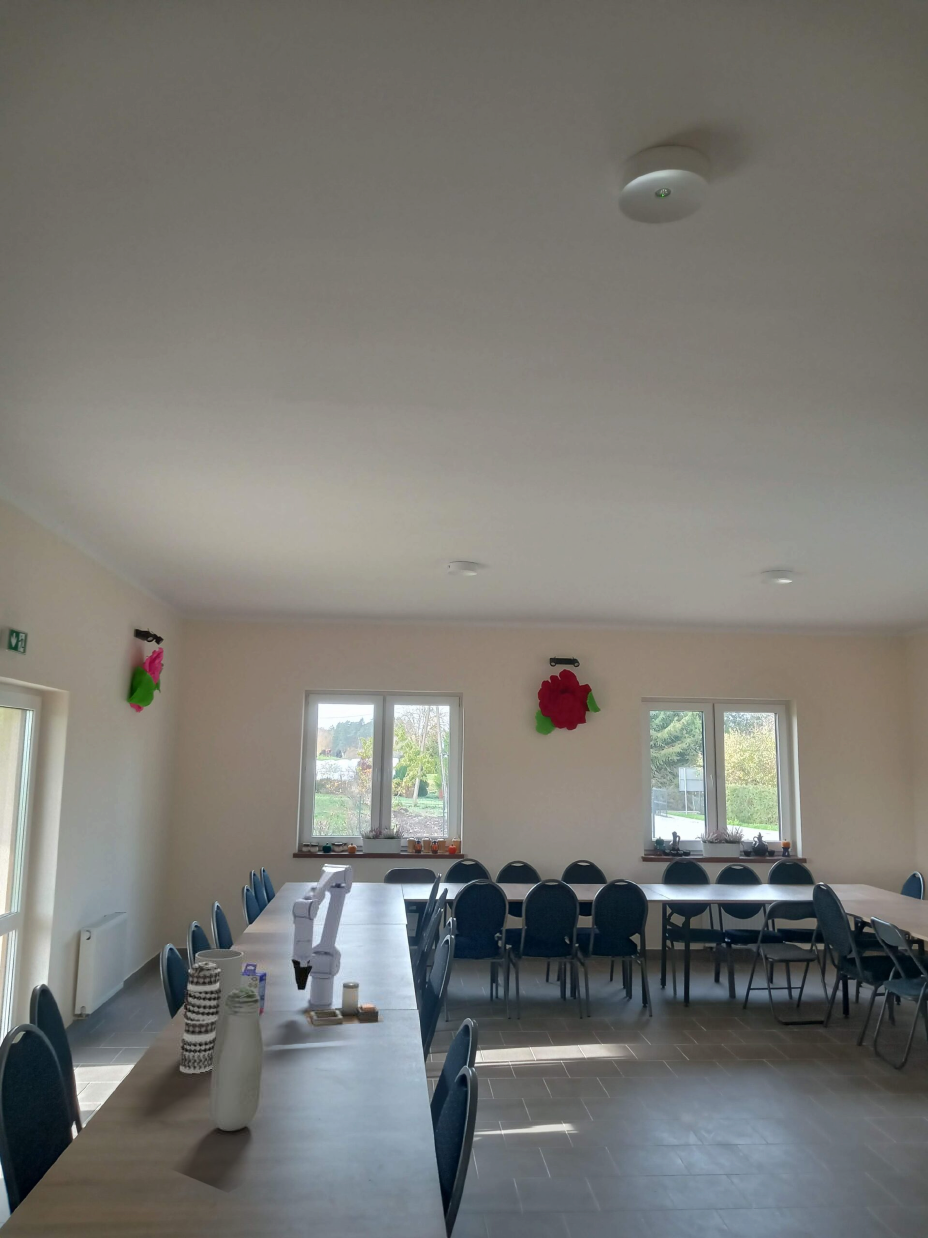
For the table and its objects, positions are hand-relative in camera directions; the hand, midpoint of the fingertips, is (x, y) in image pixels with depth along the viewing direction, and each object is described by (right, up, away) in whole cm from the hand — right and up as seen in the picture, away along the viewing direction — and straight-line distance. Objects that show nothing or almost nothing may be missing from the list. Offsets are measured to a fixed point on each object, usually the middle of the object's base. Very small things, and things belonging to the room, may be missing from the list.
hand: (300, 986), depth 261 cm
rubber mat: (+15, -10, +4) cm, 18 cm away
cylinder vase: (-17, -3, -34) cm, 38 cm away
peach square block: (+21, -9, -1) cm, 22 cm away
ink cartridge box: (-17, -10, +1) cm, 20 cm away
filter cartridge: (+15, -9, +4) cm, 18 cm away
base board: (+13, -10, -1) cm, 16 cm away
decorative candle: (-18, -1, -45) cm, 49 cm away
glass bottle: (+1, +4, -80) cm, 80 cm away
